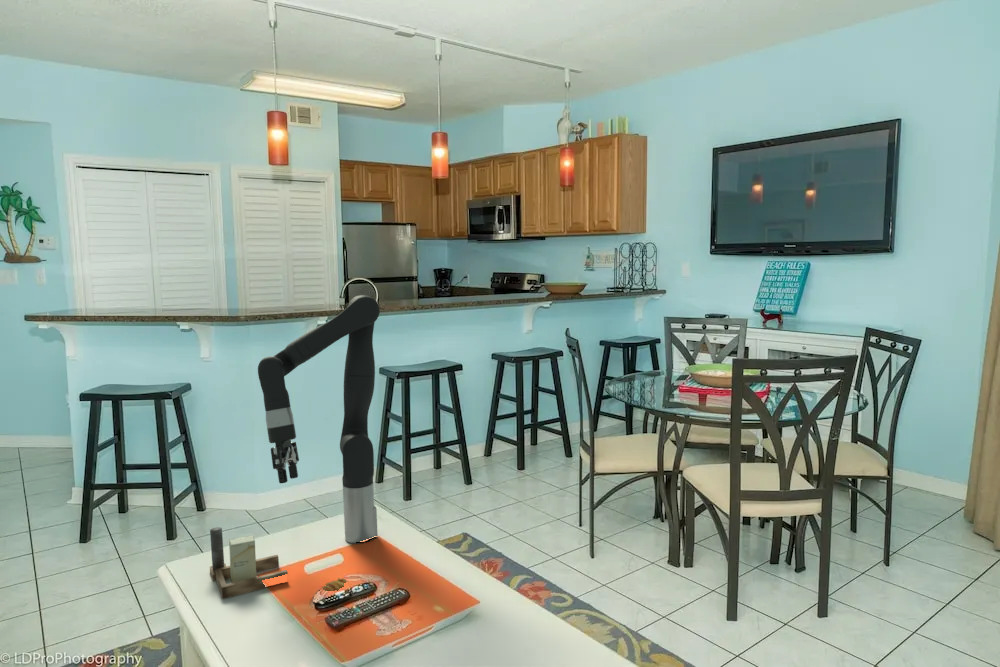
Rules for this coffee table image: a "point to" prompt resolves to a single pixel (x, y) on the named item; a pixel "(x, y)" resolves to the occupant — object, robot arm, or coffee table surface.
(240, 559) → the skincare box
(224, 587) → the brown frame
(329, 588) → the pastry
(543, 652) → the coffee table surface
